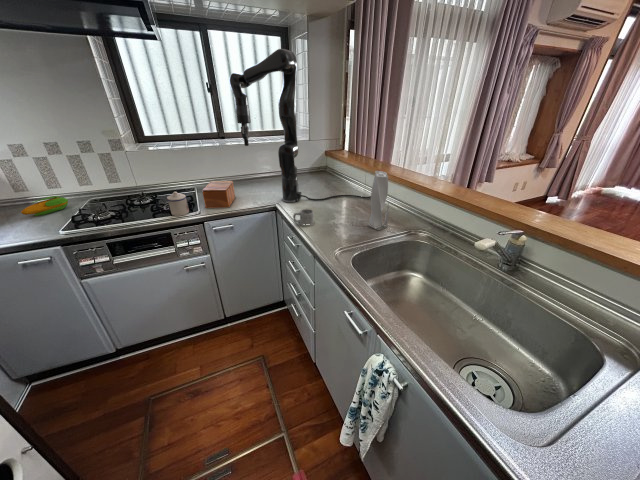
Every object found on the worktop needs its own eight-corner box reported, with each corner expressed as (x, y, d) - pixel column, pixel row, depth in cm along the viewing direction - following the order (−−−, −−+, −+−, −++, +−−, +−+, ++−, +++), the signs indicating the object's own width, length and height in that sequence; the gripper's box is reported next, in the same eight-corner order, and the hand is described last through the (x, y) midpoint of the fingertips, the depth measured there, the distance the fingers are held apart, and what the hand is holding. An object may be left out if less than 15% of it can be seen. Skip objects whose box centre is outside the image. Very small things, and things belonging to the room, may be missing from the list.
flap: (210, 181, 160) (210, 181, 160) (232, 181, 161) (232, 180, 161) (206, 186, 153) (206, 185, 152) (229, 186, 154) (229, 185, 153)
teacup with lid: (192, 212, 144) (187, 192, 138) (175, 217, 138) (169, 196, 132) (183, 206, 151) (178, 187, 145) (166, 211, 145) (160, 190, 139)
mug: (313, 221, 136) (313, 208, 133) (313, 226, 130) (313, 214, 127) (294, 220, 136) (293, 208, 133) (293, 226, 130) (292, 214, 127)
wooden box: (213, 197, 165) (210, 181, 160) (235, 197, 166) (232, 180, 161) (205, 207, 150) (201, 190, 145) (229, 207, 151) (226, 190, 146)
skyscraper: (375, 231, 126) (383, 173, 113) (363, 225, 132) (369, 169, 119) (387, 227, 131) (396, 170, 117) (375, 221, 136) (382, 166, 123)
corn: (67, 193, 145) (20, 206, 129) (74, 206, 149) (29, 220, 133) (60, 192, 148) (12, 204, 132) (67, 205, 151) (21, 219, 135)
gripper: (247, 115, 147) (251, 147, 156) (251, 113, 159) (254, 143, 167) (234, 114, 147) (238, 147, 155) (238, 113, 158) (242, 143, 166)
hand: (246, 145), depth 161 cm, fingers closed
